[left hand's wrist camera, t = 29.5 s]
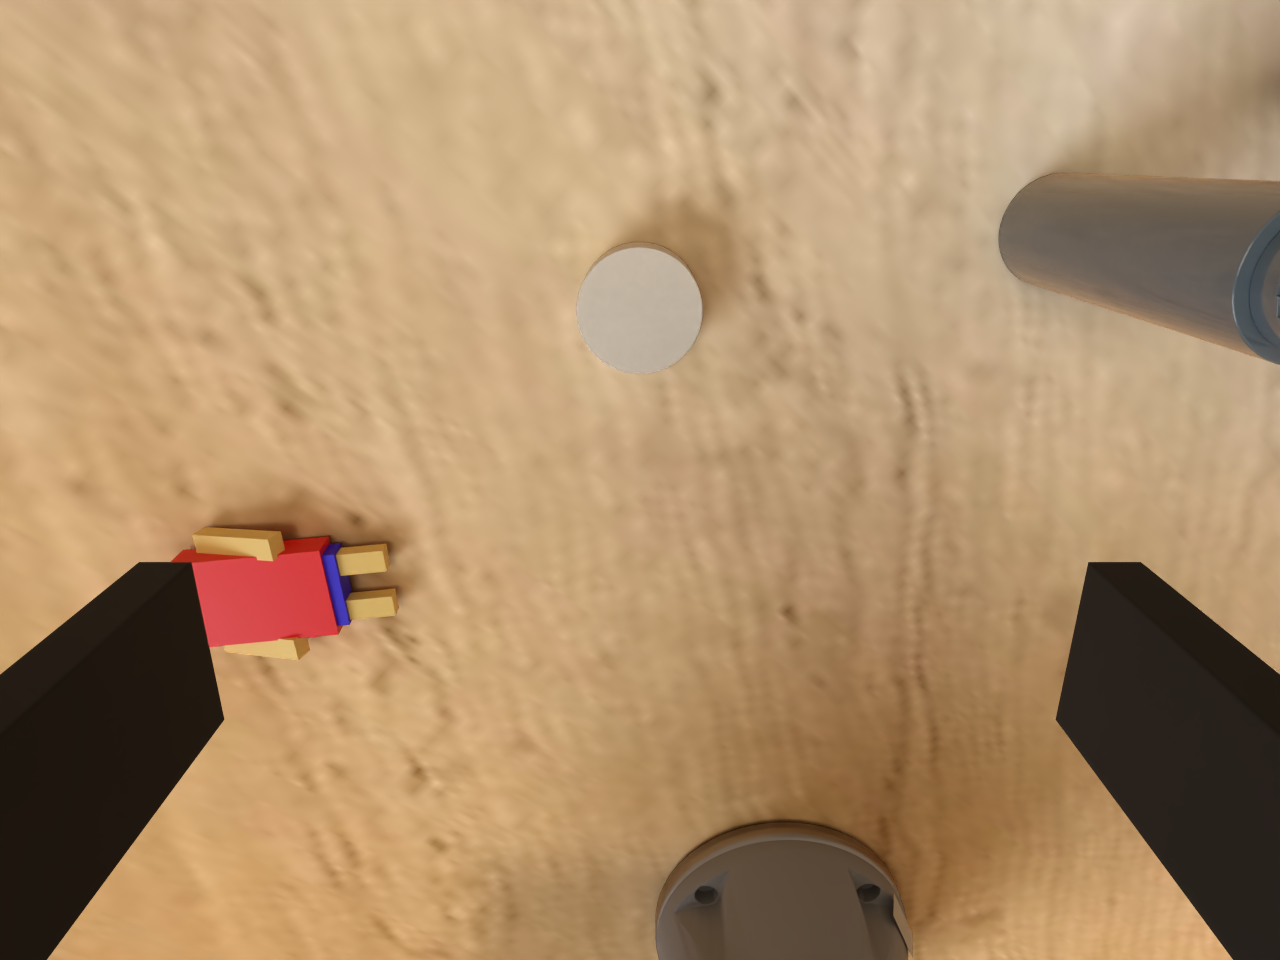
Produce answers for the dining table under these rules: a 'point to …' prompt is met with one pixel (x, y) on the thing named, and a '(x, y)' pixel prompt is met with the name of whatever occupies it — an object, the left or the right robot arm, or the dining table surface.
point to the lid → (639, 308)
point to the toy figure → (281, 589)
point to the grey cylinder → (1157, 251)
